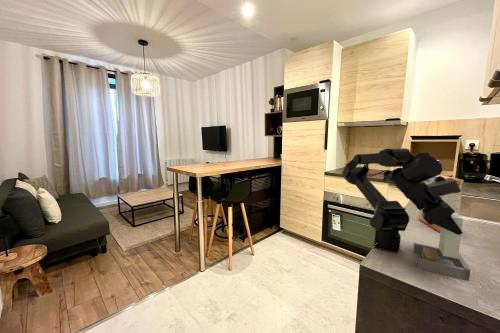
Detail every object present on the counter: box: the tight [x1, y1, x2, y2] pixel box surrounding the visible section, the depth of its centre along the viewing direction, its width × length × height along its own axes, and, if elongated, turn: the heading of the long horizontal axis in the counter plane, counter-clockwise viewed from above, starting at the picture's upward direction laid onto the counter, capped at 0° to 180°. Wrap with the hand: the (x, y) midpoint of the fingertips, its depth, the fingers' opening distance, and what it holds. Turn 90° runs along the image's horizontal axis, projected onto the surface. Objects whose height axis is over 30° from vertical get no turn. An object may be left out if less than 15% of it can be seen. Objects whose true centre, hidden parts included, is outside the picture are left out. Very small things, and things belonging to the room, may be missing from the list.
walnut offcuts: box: [420, 247, 442, 263], centre depth 60 cm, size 4×8×3 cm, turn 149°
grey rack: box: [412, 242, 471, 281], centre depth 60 cm, size 10×11×3 cm
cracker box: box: [418, 174, 465, 233], centre depth 85 cm, size 14×6×21 cm, turn 168°
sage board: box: [438, 213, 464, 259], centre depth 58 cm, size 3×5×11 cm, turn 148°
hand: (457, 230), depth 57 cm, fingers closed on sage board, 5 cm apart
